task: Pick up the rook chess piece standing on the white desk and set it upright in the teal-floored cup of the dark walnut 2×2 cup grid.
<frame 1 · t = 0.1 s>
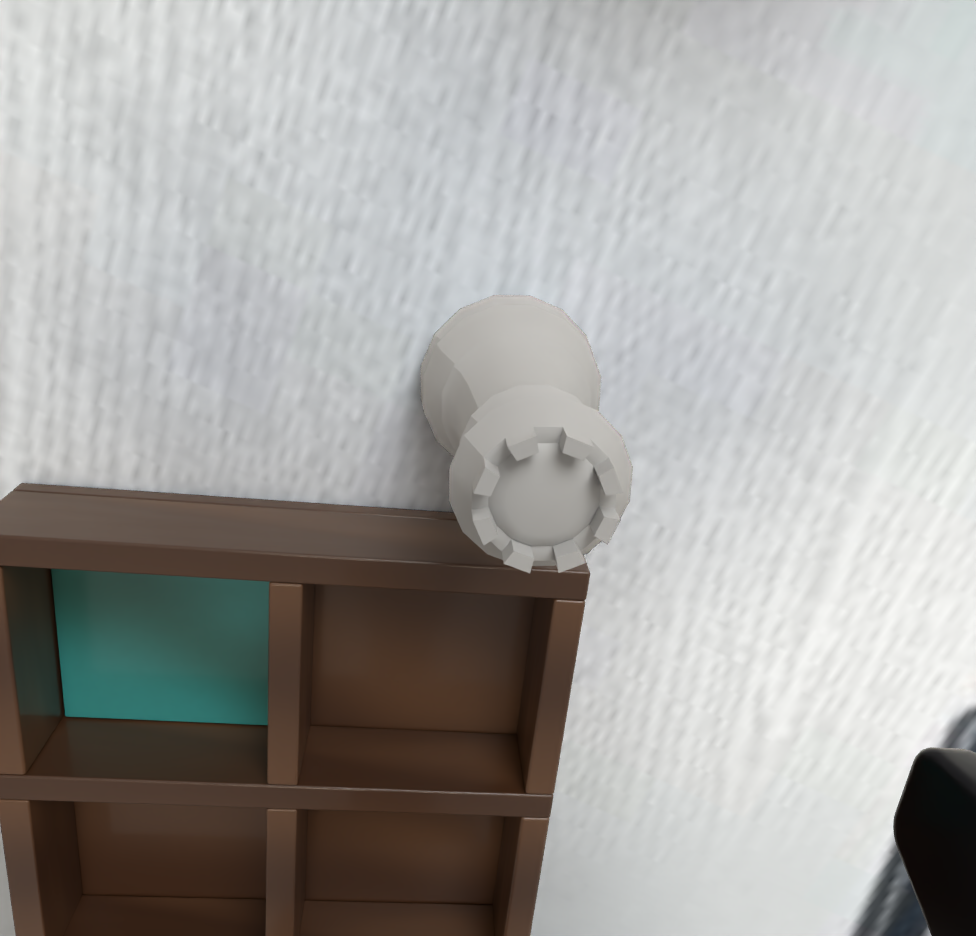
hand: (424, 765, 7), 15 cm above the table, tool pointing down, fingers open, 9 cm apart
rook chess piece: (506, 376, 21), on the table
grid: (299, 723, 25), on the table
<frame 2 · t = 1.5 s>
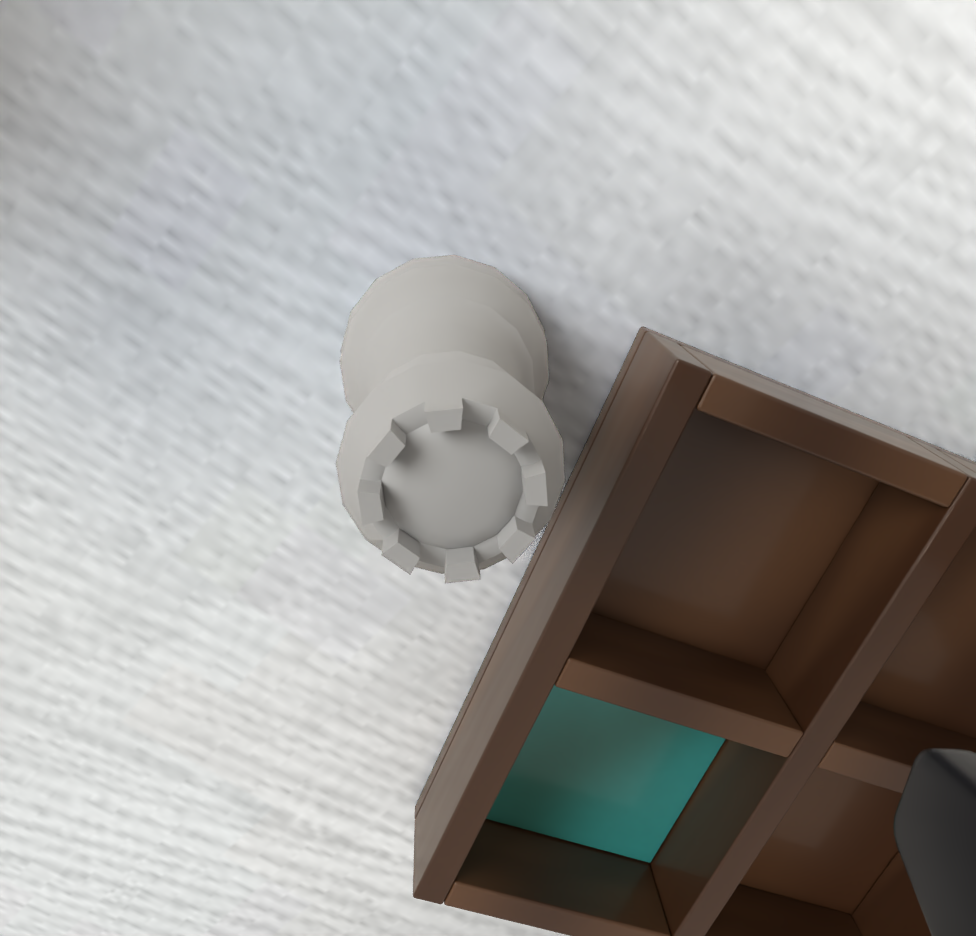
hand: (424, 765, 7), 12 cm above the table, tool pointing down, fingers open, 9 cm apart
rook chess piece: (444, 352, 19), on the table
grid: (763, 674, 22), on the table
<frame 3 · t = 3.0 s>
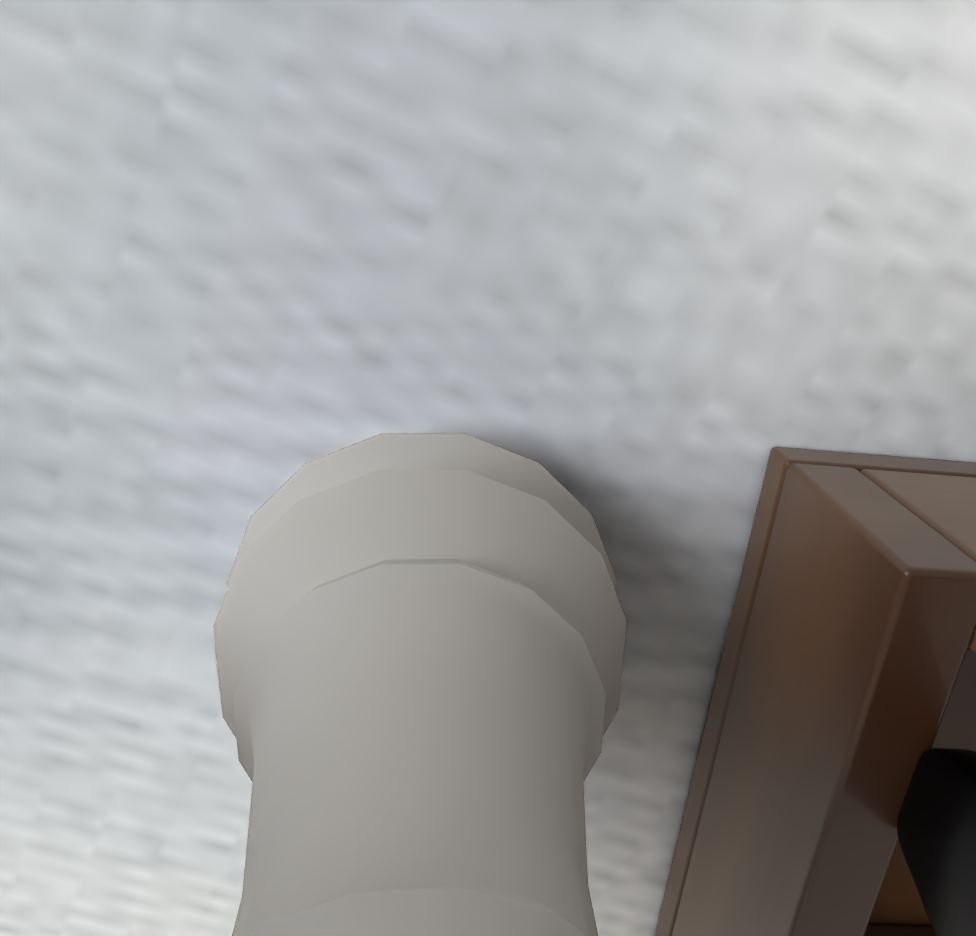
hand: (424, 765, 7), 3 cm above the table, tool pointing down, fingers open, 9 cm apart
rook chess piece: (425, 584, 10), on the table
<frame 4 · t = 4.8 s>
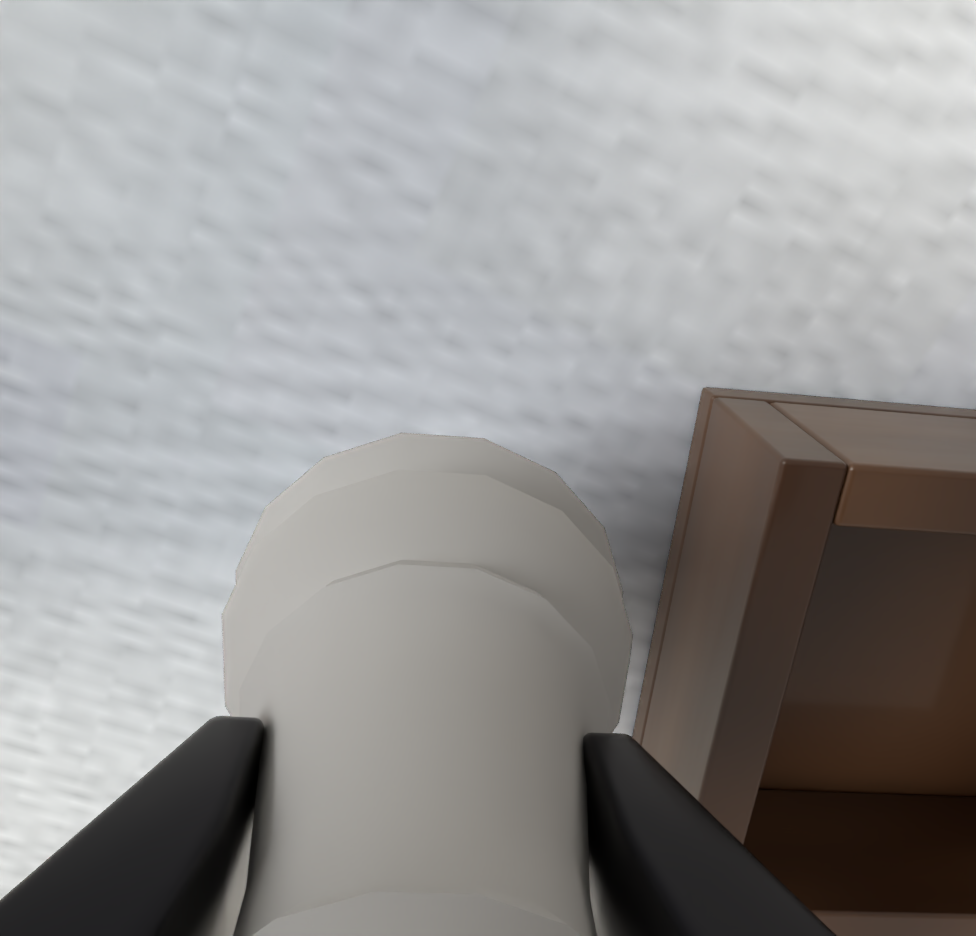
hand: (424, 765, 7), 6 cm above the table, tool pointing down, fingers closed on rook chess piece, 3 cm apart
rook chess piece: (431, 585, 10), point 2 cm above the table, touching gripper
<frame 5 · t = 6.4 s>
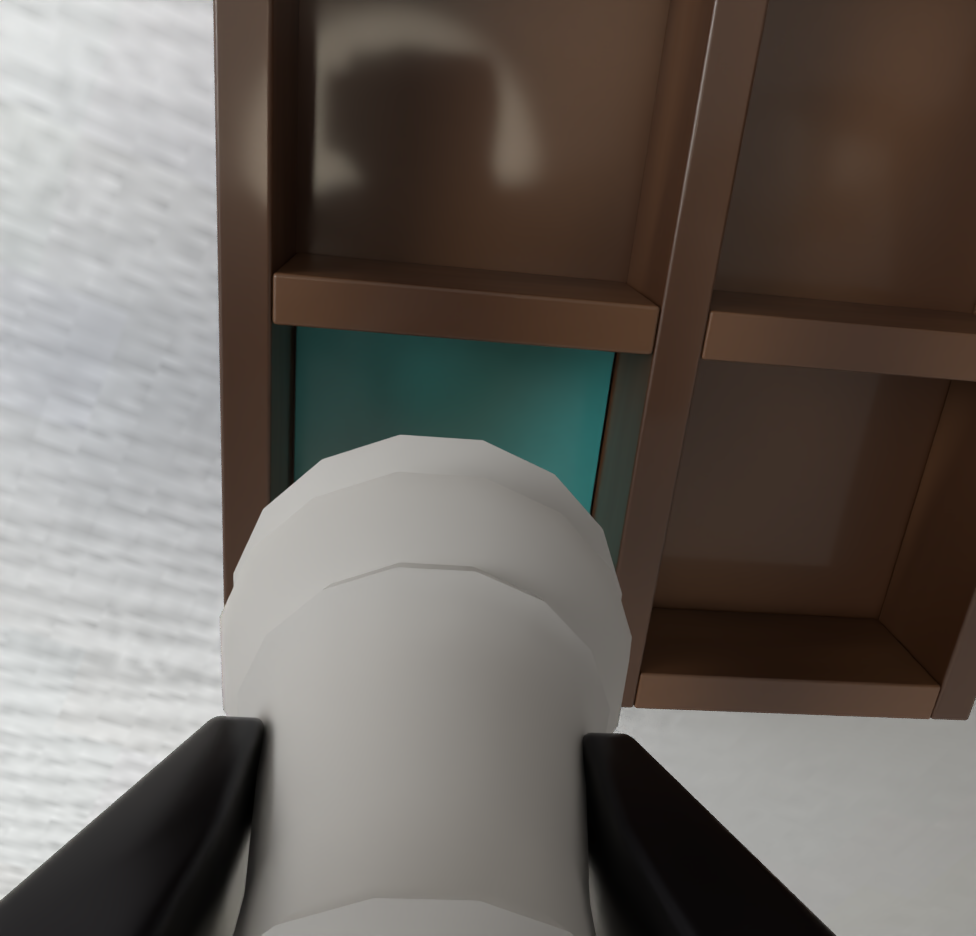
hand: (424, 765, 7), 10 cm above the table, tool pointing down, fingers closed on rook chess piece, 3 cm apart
rook chess piece: (429, 587, 10), point 7 cm above the table, touching gripper
grid: (637, 300, 16), on the table
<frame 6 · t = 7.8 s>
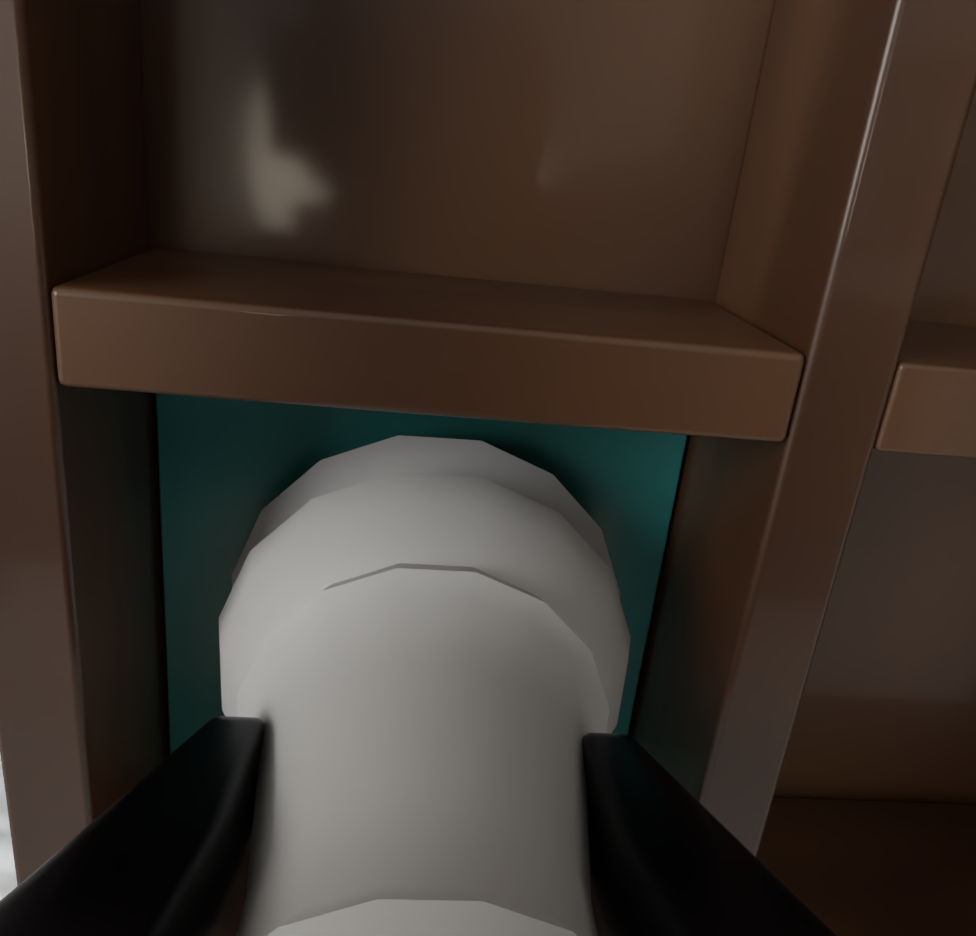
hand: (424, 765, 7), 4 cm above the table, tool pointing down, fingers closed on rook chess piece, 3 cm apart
rook chess piece: (428, 587, 10), point 1 cm above the table, touching grid, gripper
grid: (725, 330, 10), on the table
when the fingers open (4 cm above the table, at t = 8.0 s): rook chess piece stays where it is, resting on grid.
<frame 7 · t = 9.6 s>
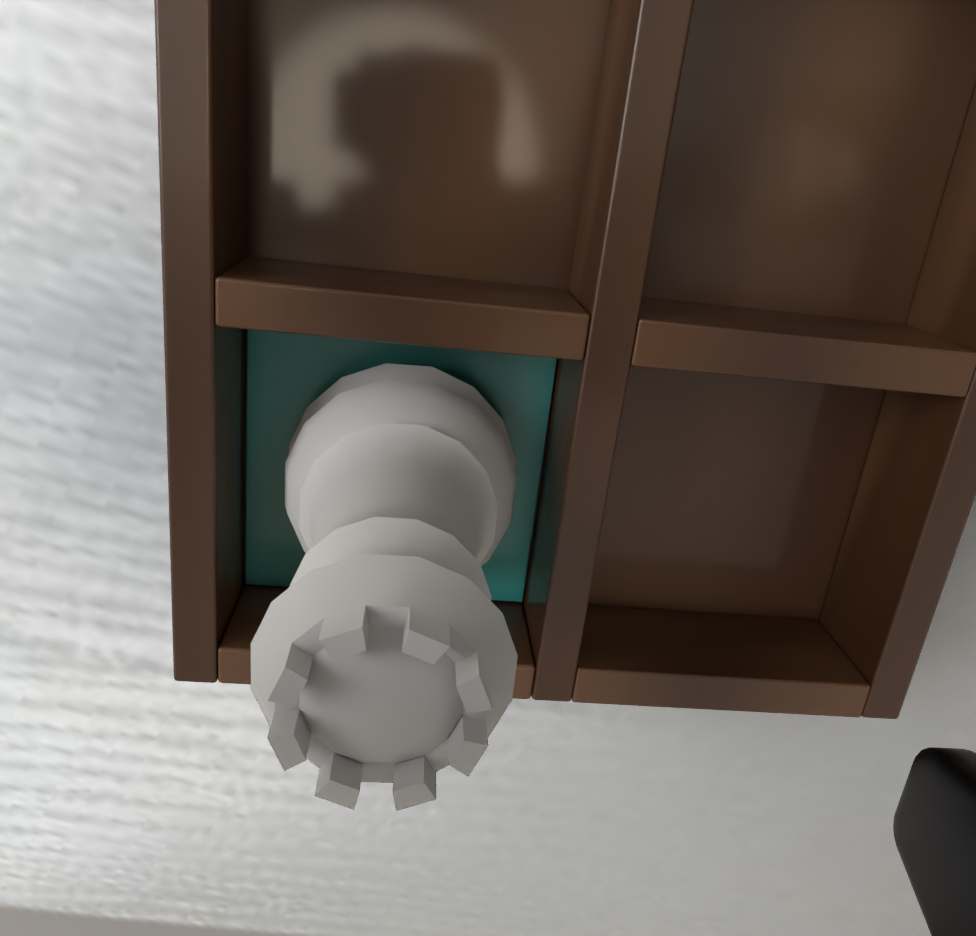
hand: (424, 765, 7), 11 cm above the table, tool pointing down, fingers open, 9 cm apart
rook chess piece: (403, 461, 17), point 1 cm above the table, touching grid
grid: (581, 307, 17), on the table
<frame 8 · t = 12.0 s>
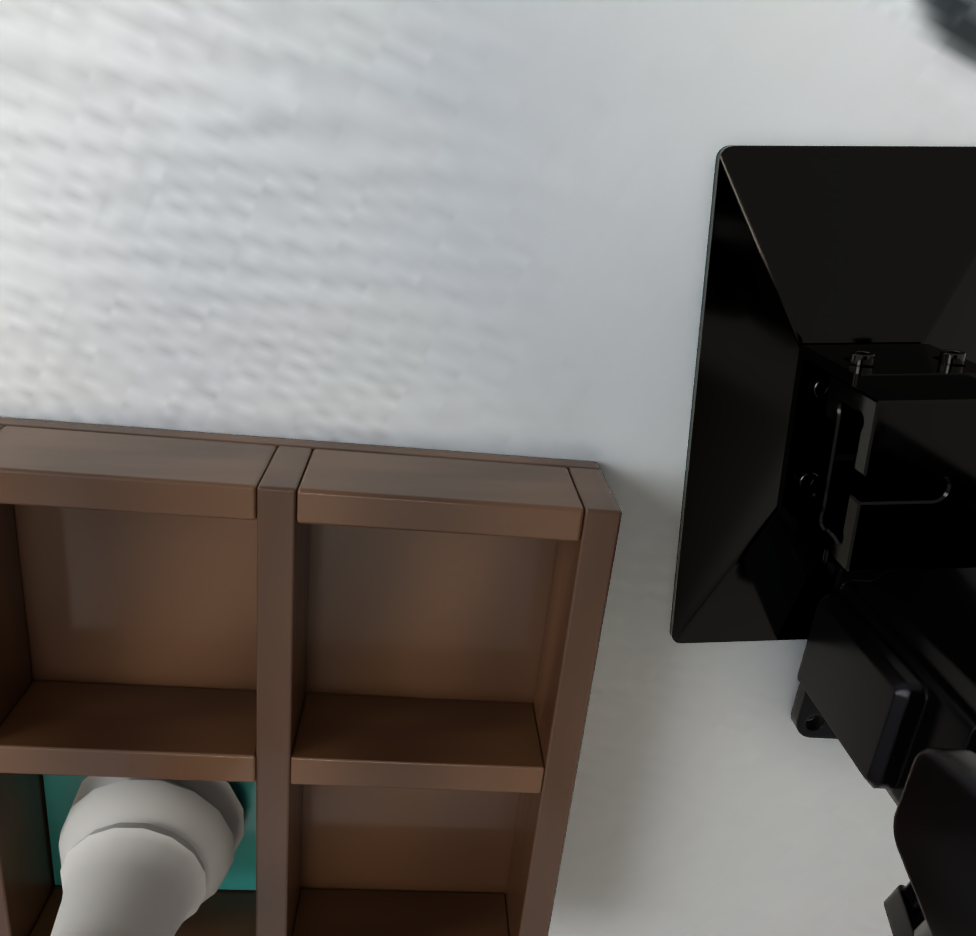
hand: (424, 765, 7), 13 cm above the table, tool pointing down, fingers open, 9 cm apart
rook chess piece: (167, 801, 23), point 1 cm above the table, touching grid
build plate: (826, 414, 21), on the table, touching arm
grid: (293, 692, 22), on the table
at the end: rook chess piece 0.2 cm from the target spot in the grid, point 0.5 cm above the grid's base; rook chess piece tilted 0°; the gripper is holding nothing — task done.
